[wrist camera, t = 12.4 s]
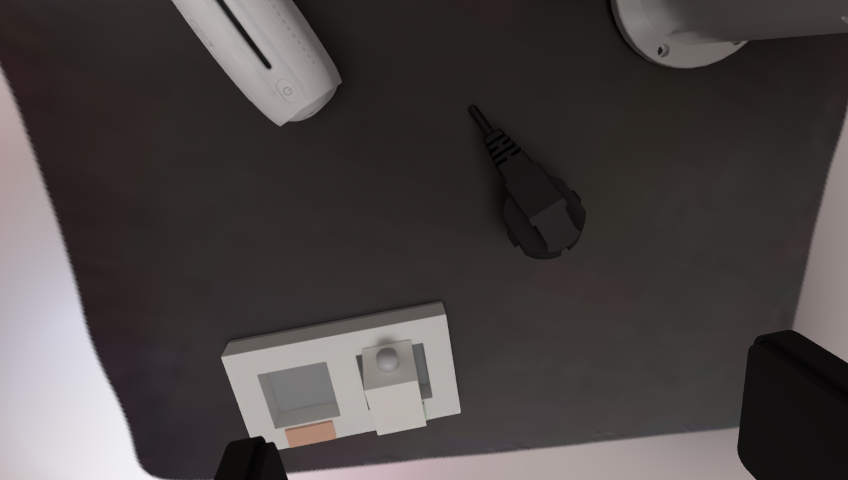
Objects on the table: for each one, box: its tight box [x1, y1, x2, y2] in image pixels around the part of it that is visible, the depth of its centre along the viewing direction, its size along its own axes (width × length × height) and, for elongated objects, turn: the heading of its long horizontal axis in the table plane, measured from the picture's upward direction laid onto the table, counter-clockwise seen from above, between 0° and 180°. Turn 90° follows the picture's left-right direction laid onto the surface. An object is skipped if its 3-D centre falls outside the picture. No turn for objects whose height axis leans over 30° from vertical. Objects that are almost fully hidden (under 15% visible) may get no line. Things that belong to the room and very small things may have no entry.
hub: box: [221, 301, 461, 450], centre depth 40 cm, size 18×10×3 cm, turn 99°
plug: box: [362, 340, 426, 435], centre depth 37 cm, size 4×4×7 cm
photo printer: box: [172, 0, 342, 126], centre depth 26 cm, size 10×4×12 cm, turn 33°
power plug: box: [469, 106, 586, 259], centre depth 35 cm, size 6×8×12 cm
